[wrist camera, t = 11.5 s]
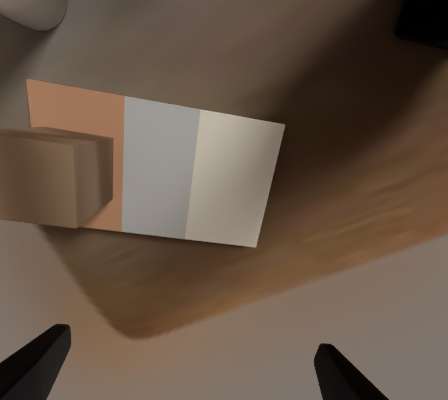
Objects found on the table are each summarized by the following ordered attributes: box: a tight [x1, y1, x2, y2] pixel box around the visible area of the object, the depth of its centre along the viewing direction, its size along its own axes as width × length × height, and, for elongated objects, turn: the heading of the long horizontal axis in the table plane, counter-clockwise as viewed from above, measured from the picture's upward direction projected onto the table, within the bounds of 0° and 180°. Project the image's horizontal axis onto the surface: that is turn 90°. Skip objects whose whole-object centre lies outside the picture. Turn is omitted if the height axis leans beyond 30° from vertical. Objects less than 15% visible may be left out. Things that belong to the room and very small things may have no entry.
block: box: [0, 127, 114, 228], centre depth 14 cm, size 4×4×5 cm
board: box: [26, 79, 285, 247], centre depth 18 cm, size 17×10×1 cm, turn 81°
